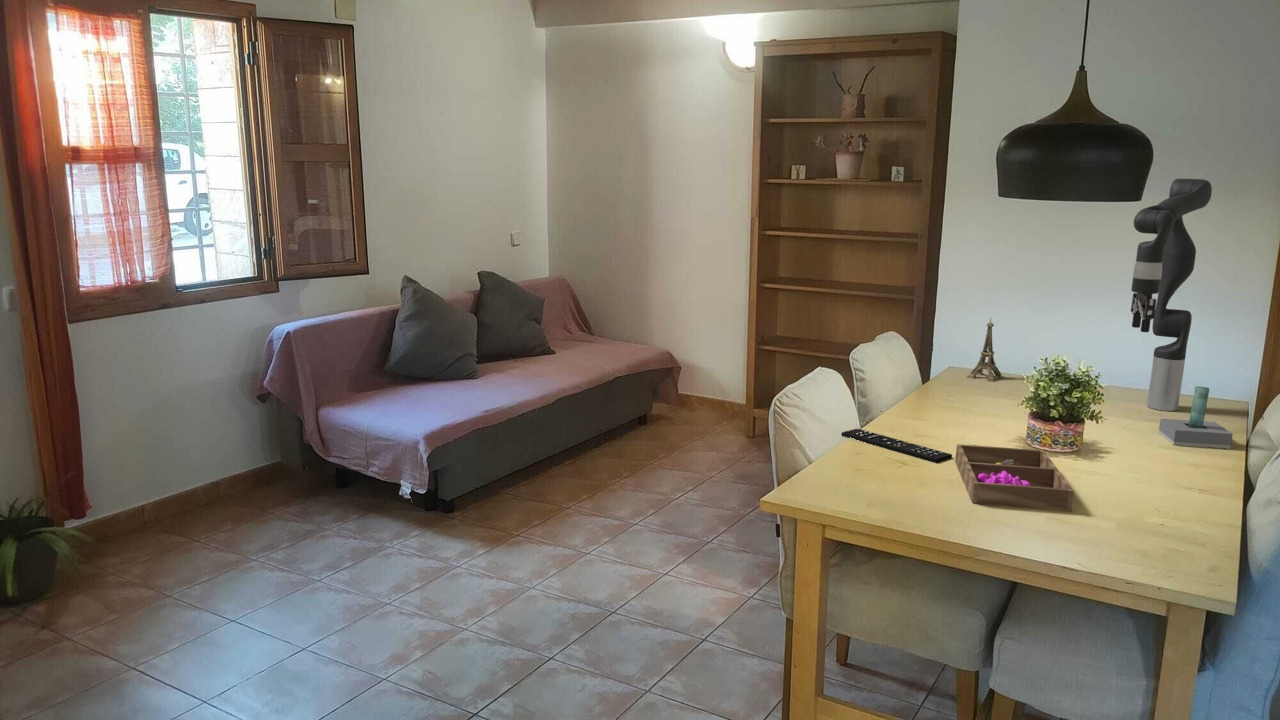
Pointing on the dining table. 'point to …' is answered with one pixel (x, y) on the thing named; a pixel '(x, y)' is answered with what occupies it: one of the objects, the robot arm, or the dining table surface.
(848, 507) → the dining table surface
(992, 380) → the eiffel tower
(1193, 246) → the robot arm
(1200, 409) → the teal pin
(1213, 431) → the socket block
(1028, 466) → the walnut display tray
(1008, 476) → the magenta lumpy cluster
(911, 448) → the remote control
